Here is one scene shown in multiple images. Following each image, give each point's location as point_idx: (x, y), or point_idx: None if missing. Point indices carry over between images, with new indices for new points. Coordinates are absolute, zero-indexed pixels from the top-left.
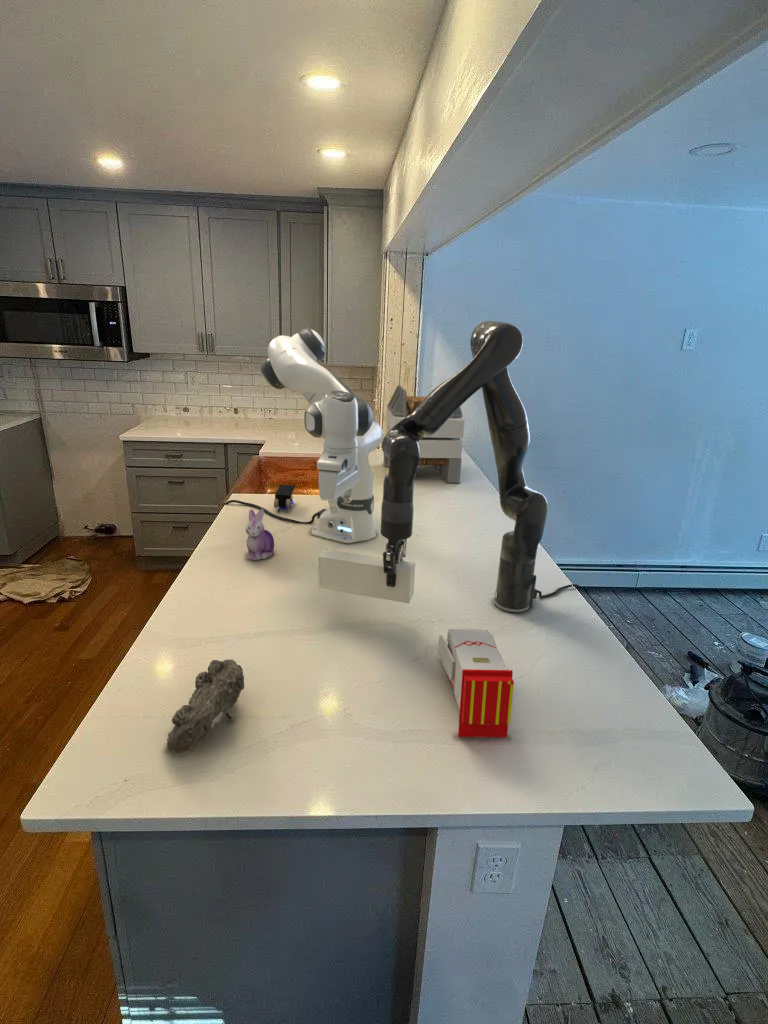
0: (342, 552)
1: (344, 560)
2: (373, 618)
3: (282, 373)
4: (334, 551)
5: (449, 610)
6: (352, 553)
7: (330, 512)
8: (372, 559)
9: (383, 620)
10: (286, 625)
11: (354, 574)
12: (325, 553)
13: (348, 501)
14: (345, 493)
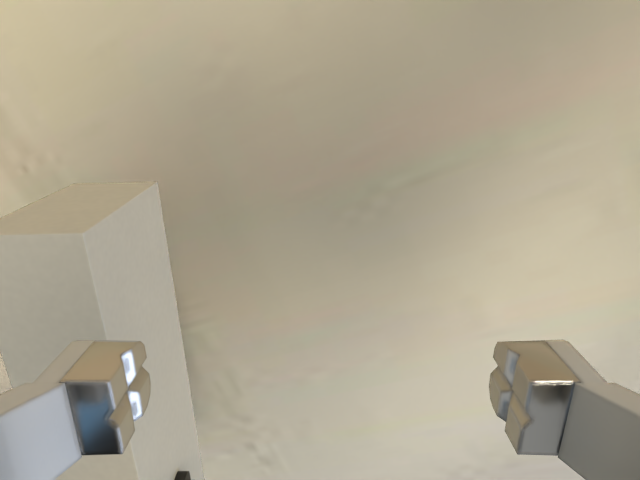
0: (92, 333)
1: (8, 373)
2: (195, 316)
3: None
4: (79, 290)
5: (326, 470)
6: None
7: (75, 341)
8: (101, 474)
9: (198, 343)
10: (10, 80)
11: None
12: (24, 254)
13: (497, 399)
14: (603, 409)
